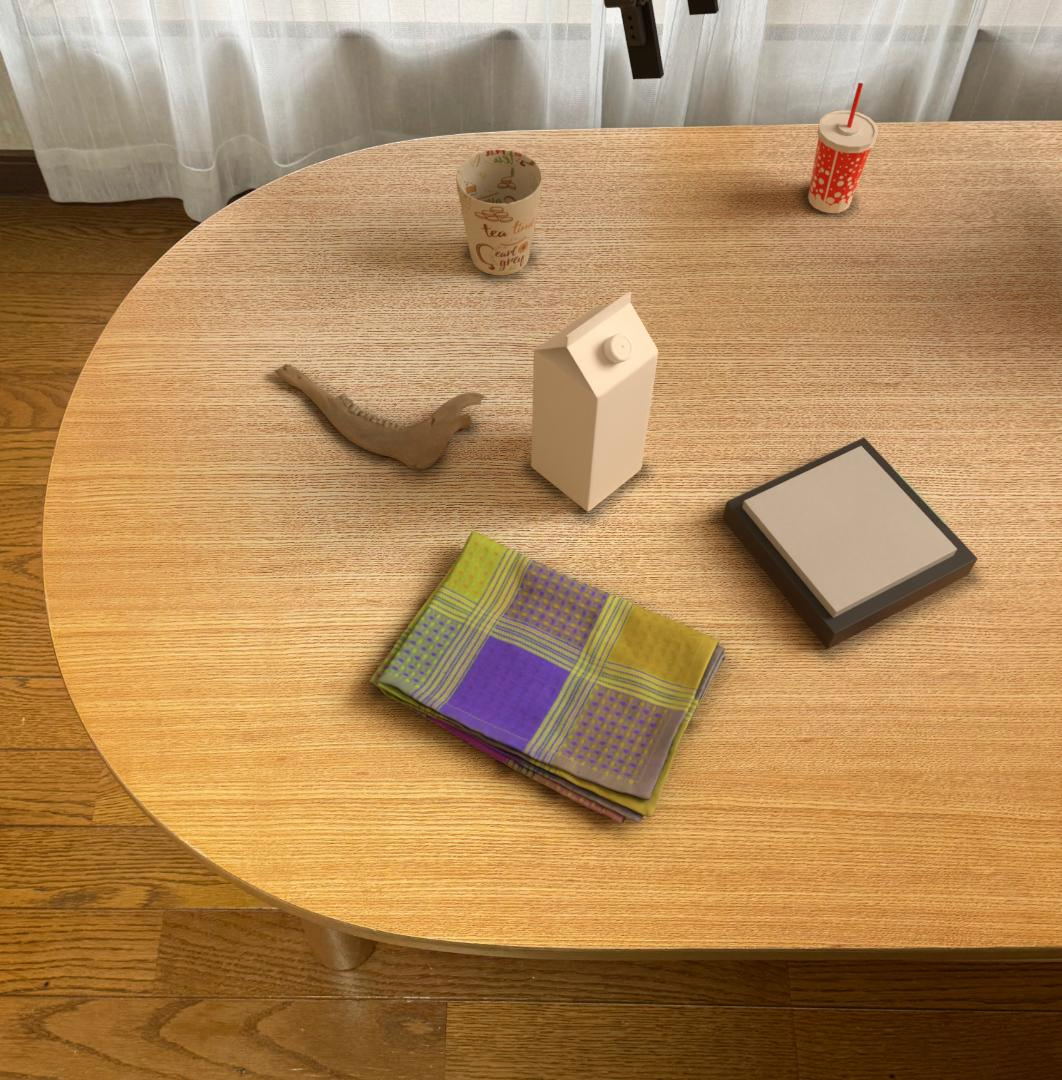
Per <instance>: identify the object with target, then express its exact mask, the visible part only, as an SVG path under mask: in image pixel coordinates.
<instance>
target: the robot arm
mask: <svg viewBox="0 0 1062 1080" xmlns="http://www.w3.org/2000/svg"><path fill="white" fill-rule="evenodd" d="M653 4H654V3H653V0H603V5H604V6H605V8H606V9H616V8H618V9H619V10H620V16H621V20H622V21H621V22H622V26H623V32H624V37H625V43H626V49H627V55H628V61H629V64H630V70H631V76H632V80H653V79H654V80H656V79H662V78H663V77H664V76H665V71H664V65H663V60H662V53H661V46H660V41H659V35H658V29H657V22H656V16H655V10H654V5H653ZM687 7H688V14H689V16H697V15H698V16H699V15H715V14H717V13H718V12H719V11H720V9H719V1H718V0H687Z"/></svg>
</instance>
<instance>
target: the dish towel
mask: <svg viewBox="0 0 1062 1080" xmlns="http://www.w3.org/2000/svg"><path fill="white" fill-rule="evenodd" d="M719 642H720V640H719V639H717V638H714V637H713V636H711V635H708V634H706V633H703V632H701V631H699V630H697V629H694V628H692V627H690V626H687V625H684V624H682V623H681V622H678V621H675V620H673V619H671V618H670V617H666V616H664V615H662V614H659V613H656V612H654V611H651V610H649V609H646V608H644V607H642V606H641V607H640V606H639V605H637V604H635V603H633V602H631V601H629V600H627V599H625V598H621V597H619V596H617V595H614V594H611V593H609V592H607V591H604V590H602V589H599V588H596V587H593V586H591V585H588V584H587V583H585V582H582V581H579V580H577V579H575V578H572V577H570V576H568V575H566V574H565V573H561V572H559V571H558V570H556V569H554V568H551V567H549V566H547V565H545V564H543V563H541V562H538V561H536V560H534V559H532V558H529V557H528V556H526V555H525V554H523V553H521V552H520V551H518V550H515V549H512V548H510V547H507V546H505V545H504V544H502V543H499V542H497V541H496V540H494V539H492V538H490V537H487V536H486V535H484V534H481V533H480V532H478V531H475V530H471V531H470V534H469V535H468V537H467V539H466V541H465V544H464V545H463V548H462V550H461V552H460V554H459V555H458V556H457V558H456V559H455V561H454V562H453V564H452V565H451V566H450V568H449V570H448V571H447V572H446V574H445V575H444V577H443V578H442V579H441V581H440V583H438V585H437V586H436V588H434V589H433V592H432V593H431V595H430V596H429V597H428V599H427V600H426V601H425V602H424V604H423V605H422V606H421V607H420V609H419V610H418V612H417V613H416V614H415V616H414V617H413V619H412V620H411V621H410V623H408V625H407V626H406V628H405V630H404V631H403V632H402V633H401V635H400V636H399V637H398V639H397V640H396V642H395V644H394V645H393V647H391V649H390V651H388V653H387V655H386V656H385V658H383V660H382V661H381V663H380V664H379V666H378V667H377V669H376V670H375V671H374V672H373V674H372V675H371V677H370V678H369V679H368V684H369V685H372V686H374V687H376V688H377V689H379V690H380V691H381V692H382V693H383V694H384V696H386V697H387V698H390V699H392V700H394V701H396V702H397V703H399V704H402V705H403V706H405V707H406V708H408V709H409V710H411V711H413V712H414V713H416V714H418V715H419V716H421V717H423V718H424V719H427V720H429V721H430V722H432V723H434V724H435V725H438V726H439V727H441V728H443V729H445V730H446V731H448V732H449V733H451V734H452V735H454V736H456V737H458V738H459V739H461V740H462V742H465V743H467V744H468V745H470V746H472V747H474V748H475V749H477V750H479V751H481V752H483V753H484V754H486V755H488V756H490V757H491V758H493V759H495V760H496V761H498V762H500V763H503V764H504V765H506V767H507V766H508V768H511V770H514V771H515V772H518V773H520V774H522V775H524V776H526V777H527V778H530V779H532V780H534V781H536V782H538V783H540V784H542V785H544V786H546V787H548V788H550V789H551V790H553V791H555V792H557V793H559V794H560V795H562V796H564V797H566V798H568V799H569V800H571V801H573V802H575V803H578V804H580V805H581V806H583V807H584V808H587V809H590V810H592V811H593V812H595V813H596V814H602V815H604V816H607V817H609V818H610V819H611V820H612V821H613V822H616V823H618V824H619V825H623V823H624V822H625V820H626V819H629V820H631V821H633V822H635V823H636V824H639V823H640V822H641V821H642V820H643V818H644V817H645V818H647V819H649V818H651V817H652V816H653V814H654V813H655V811H656V809H657V806H658V805H659V804H658V803H659V801H660V798H661V795H662V792H663V790H664V787H665V785H666V782H667V780H668V777H669V774H670V771H671V769H672V766H673V765H672V764H673V760H674V758H675V755H676V752H677V750H678V748H679V745H680V743H681V740H682V738H683V735H684V733H685V731H686V729H687V728H688V725H689V724H690V722H691V721H692V719H693V717H694V715H695V713H696V711H697V710H698V708H699V706H700V704H701V702H702V700H703V699H704V697H705V694H706V693H707V690H708V688H709V686H710V684H711V682H712V681H713V680H714V677H715V676H716V674H717V672H718V671H719V670H720V668H721V666H722V664H723V663H724V661H725V659H726V653H725V651H726V648H725V647H724V646H722V645H720V644H719Z"/></svg>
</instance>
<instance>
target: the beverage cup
mask: <svg viewBox="0 0 1062 1080" xmlns="http://www.w3.org/2000/svg"><path fill="white" fill-rule="evenodd" d="M863 85H864V84H863V82H858V83H857V87H856V91H855V94H854V98H853V102H852V105H851V110H849V109H845V110H843V109H842V110H841V109H840V110H834V111H831V112H827V113H825V114H824V115H823V116H822V117H821V118H820V120H819V121H818V122H819V123H818V126H817V131H816V133H817V136H818V139H817V144H816V150H815V156H814V161H813V167H812V174H811V178H810V184H809V190H808V194H807V195H808V196H807V199H808V201H809V202H808V203H809V204H810V205H811V206H812V207H813V208H814V209H816V210H818V211H820V212H822V213H827V214H839V213H842V212H845V211H846V210H847V209H849V208H850V206H851V203H852V201H853V198H854V195H855V192H856V189H857V187H858V184H859V181H860V179H861V176H862V173H863V170H864V168H865V165H866V164H867V163H866V162H867V160H868V157H869V154H870V152H871V149H872V147H874V146H875V145H876V141H877V139H878V136H879V133H880V130H879V127H878V125H877V123H876V122H875V121H874V120H873V119H872V118H871V117H869V116H868V115H866V114H863V113H861V112H859V111H857V107H858V105H859V101H860V97H861V94H862V90H863Z"/></svg>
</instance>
